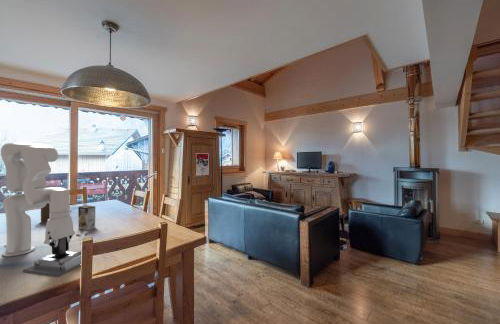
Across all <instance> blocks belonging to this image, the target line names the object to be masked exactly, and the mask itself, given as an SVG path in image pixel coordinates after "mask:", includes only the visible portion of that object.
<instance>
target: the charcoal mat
mask: <svg viewBox="0 0 500 324" xmlns="http://www.w3.org/2000/svg"><path fill="white" fill-rule="evenodd" d="M78 267H81V266H80V264H79V265H77V266H75V267H73V268H71V269H69V270H67V271H61V270H53V269H45V268H38V267H34V264H33V265H30V266H29V267H26V268H24V269H22V272H23V273H29V274H37V275H42V276H50V277H58V278H59V277H61V276H63V275H65V274H67V273H69V272H71V271H73V270H75V269H77V268H78Z"/></svg>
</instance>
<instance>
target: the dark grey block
mask: <svg viewBox="0 0 500 324" xmlns="http://www.w3.org/2000/svg"><path fill="white" fill-rule="evenodd" d="M58 246H59V255H55V259H61V258H63V257H65V256H66V237H65V238H62V239H59V240H58Z"/></svg>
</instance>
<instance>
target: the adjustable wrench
mask: <svg viewBox="0 0 500 324" xmlns="http://www.w3.org/2000/svg"><path fill="white" fill-rule="evenodd" d="M88 233H89V230H83V232H80V231H78V232H76V233H75V236H77V237H80V241H81V240H82V239H83V238H85V239H86V235H88Z"/></svg>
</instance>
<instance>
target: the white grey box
mask: <svg viewBox="0 0 500 324" xmlns="http://www.w3.org/2000/svg"><path fill="white" fill-rule="evenodd" d="M81 251H82V250H79V251H77V252H76V251H69V250H68V251H66V256H65V257H63V258H61V259H55V255H53V254H52V253H51V254H48V255H46V256H44V257H41V258H39V259H38V260H39V263H40V264H47V265H55V266H61V271H67V270H69V269H71V268H73V267H75V266H77V265H79V264H81Z"/></svg>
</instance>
